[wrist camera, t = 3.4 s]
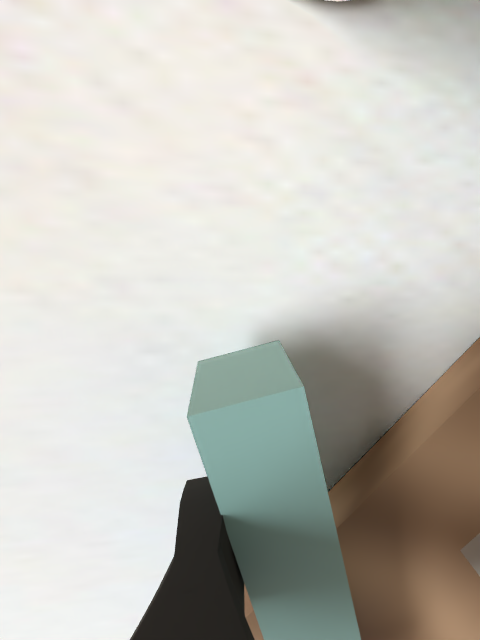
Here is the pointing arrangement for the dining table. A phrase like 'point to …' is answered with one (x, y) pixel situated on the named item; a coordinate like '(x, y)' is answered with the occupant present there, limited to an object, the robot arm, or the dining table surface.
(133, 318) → the dining table surface
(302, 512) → the folding leg
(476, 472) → the wooden board
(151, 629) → the robot arm
